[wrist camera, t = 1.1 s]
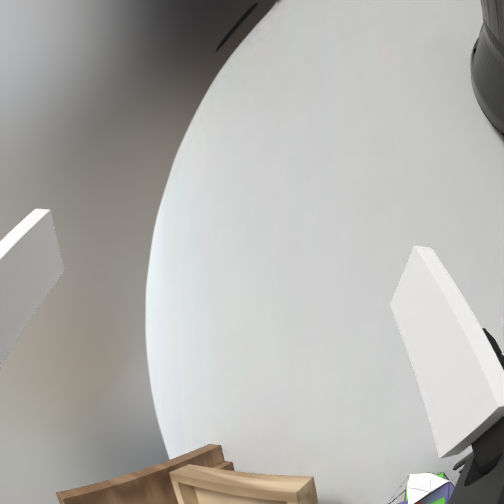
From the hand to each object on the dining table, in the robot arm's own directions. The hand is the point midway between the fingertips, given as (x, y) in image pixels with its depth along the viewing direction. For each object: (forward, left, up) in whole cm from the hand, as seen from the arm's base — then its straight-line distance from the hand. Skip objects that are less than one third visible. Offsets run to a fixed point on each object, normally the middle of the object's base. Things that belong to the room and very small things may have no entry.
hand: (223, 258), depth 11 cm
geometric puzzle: (-2, +22, -22) cm, 31 cm away
